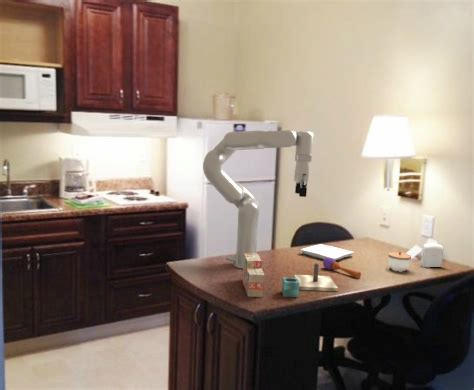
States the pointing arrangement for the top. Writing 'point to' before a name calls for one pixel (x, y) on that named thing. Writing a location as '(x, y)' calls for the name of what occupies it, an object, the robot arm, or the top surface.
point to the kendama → (339, 267)
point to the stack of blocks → (253, 275)
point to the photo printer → (432, 255)
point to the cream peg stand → (316, 281)
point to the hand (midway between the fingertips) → (300, 195)
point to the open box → (290, 287)
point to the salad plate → (326, 252)
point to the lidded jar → (399, 261)
